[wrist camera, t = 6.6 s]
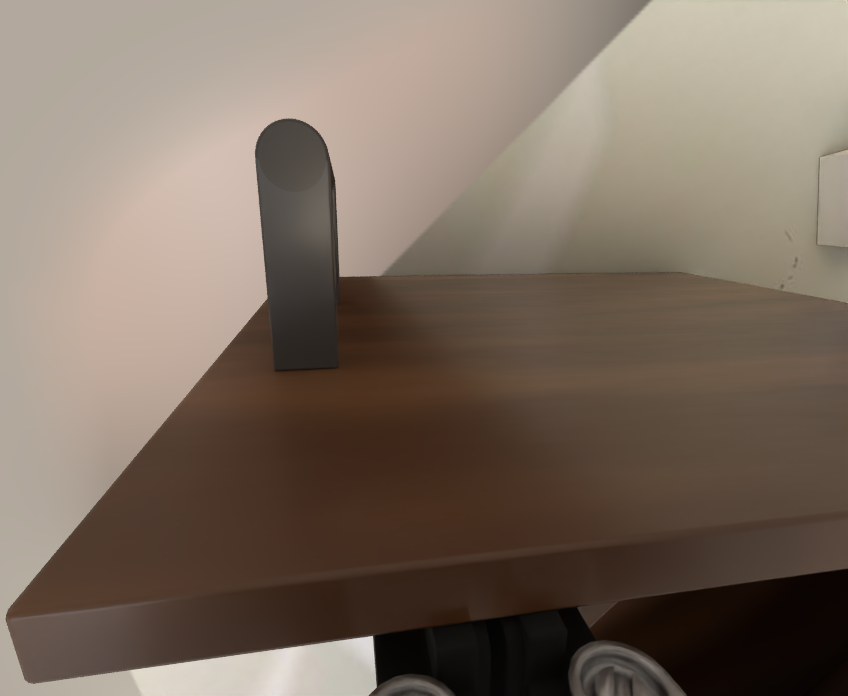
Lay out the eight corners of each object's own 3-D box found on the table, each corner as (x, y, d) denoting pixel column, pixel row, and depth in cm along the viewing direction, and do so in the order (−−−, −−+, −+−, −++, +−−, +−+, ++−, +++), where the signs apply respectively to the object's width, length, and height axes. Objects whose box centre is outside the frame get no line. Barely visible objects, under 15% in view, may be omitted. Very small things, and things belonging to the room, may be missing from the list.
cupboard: (427, 544, 35) (596, 1203, 12) (684, 286, 32) (1545, 479, 9) (573, 645, 40) (879, 1221, 17) (801, 432, 38) (1515, 778, 15)
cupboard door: (276, 173, 26) (-236, -106, 3) (696, 182, 30) (1809, 99, 7) (285, 294, 28) (23, 689, 5) (679, 286, 32) (1512, 477, 9)
